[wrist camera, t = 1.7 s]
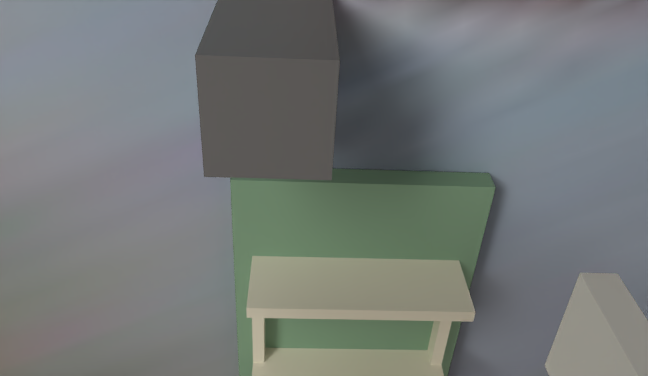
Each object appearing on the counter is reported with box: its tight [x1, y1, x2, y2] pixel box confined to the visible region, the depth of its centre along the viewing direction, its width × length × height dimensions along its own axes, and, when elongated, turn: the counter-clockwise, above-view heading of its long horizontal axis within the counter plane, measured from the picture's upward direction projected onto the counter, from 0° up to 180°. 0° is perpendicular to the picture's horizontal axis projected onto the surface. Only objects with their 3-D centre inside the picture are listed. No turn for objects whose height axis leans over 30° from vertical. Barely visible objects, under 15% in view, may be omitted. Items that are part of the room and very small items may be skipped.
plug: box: [195, 0, 340, 180], centre depth 21 cm, size 4×4×7 cm
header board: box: [230, 169, 496, 376], centre depth 30 cm, size 16×12×5 cm
